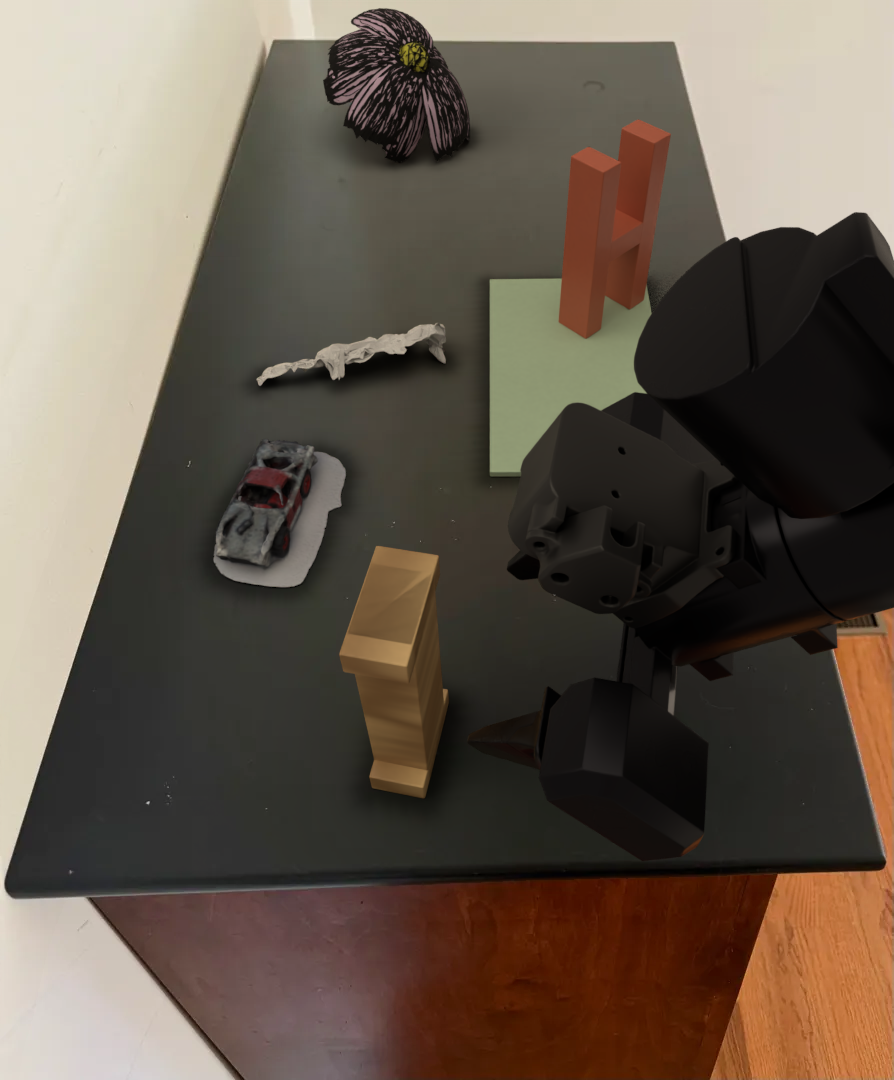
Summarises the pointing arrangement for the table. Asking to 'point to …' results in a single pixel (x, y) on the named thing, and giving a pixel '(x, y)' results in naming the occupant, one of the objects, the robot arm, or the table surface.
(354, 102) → the decorative flower
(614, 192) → the letter H
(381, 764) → the letter I
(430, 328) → the paper
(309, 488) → the toy car
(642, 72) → the table surface
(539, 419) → the word mat
